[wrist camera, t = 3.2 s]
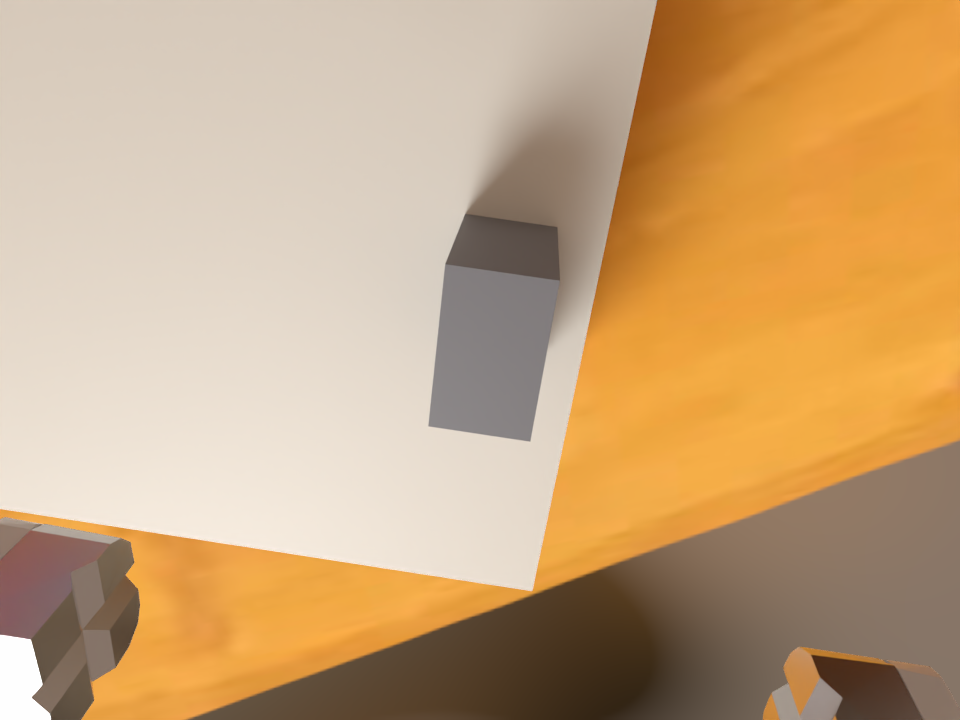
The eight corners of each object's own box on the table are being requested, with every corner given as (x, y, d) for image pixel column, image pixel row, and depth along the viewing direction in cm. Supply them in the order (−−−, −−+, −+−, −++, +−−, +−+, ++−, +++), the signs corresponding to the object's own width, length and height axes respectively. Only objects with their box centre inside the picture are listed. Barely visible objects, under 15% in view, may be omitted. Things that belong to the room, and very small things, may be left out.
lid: (532, 574, 24) (529, 694, 20) (0, 492, 25) (-114, 592, 21) (686, -164, 15) (742, -233, 11) (-183, -278, 15) (-468, -389, 11)
